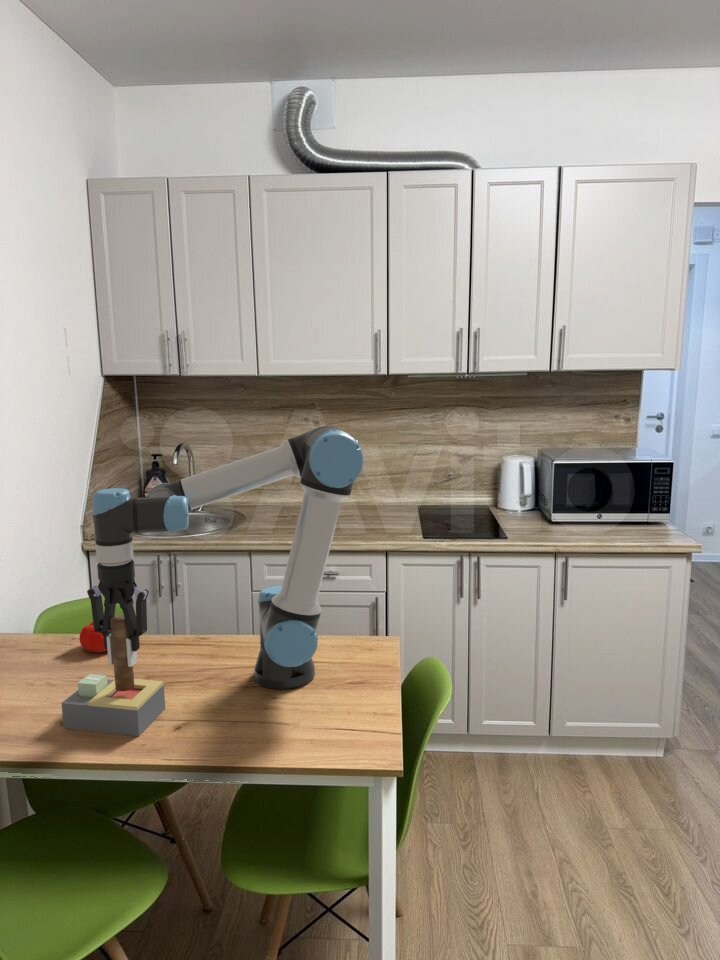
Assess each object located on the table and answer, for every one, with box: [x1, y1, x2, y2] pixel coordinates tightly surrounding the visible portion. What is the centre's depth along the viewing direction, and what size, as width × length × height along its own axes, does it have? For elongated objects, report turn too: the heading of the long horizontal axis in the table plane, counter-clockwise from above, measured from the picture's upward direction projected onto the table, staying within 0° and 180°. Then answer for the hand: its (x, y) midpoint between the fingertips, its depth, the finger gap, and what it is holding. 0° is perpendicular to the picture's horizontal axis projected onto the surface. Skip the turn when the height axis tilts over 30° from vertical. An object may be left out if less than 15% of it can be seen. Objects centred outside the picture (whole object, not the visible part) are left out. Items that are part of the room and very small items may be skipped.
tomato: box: [78, 621, 108, 654], centre depth 196 cm, size 11×11×8 cm
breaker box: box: [61, 678, 166, 737], centre depth 158 cm, size 18×12×7 cm, turn 78°
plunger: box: [111, 690, 141, 700], centre depth 157 cm, size 6×6×2 cm
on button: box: [77, 673, 108, 698], centre depth 159 cm, size 4×4×4 cm
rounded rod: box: [110, 614, 135, 691], centre depth 155 cm, size 4×4×16 cm
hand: (123, 663), depth 156 cm, fingers closed on rounded rod, 4 cm apart
